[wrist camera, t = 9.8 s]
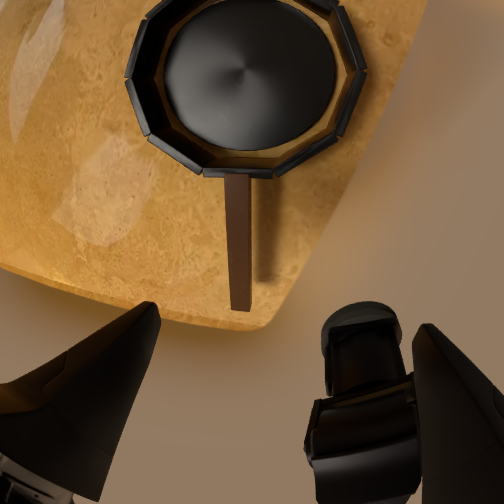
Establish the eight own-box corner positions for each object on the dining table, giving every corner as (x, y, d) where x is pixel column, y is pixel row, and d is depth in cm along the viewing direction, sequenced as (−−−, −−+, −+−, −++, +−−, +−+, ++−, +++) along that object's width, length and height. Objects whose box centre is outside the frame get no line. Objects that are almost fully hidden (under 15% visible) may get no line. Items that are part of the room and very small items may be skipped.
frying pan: (151, 3, 12) (125, -9, 9) (352, -8, 10) (362, -28, 7) (171, 275, 24) (155, 300, 21) (330, 289, 22) (334, 318, 19)
